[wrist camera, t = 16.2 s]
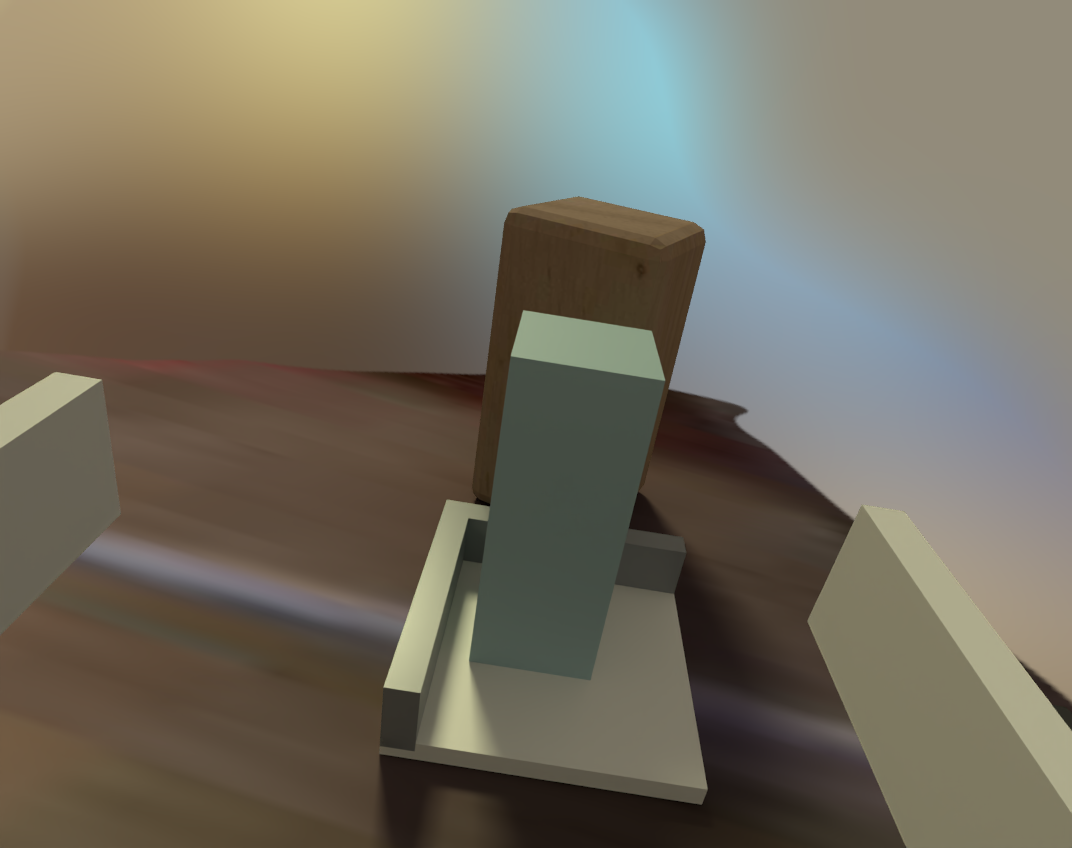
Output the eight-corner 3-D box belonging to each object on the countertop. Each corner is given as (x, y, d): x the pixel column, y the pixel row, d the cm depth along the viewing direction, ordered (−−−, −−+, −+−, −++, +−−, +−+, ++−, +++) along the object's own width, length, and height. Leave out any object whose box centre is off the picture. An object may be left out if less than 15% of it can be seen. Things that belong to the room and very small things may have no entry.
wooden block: (596, 555, 44) (667, 244, 35) (464, 499, 48) (499, 204, 39) (645, 489, 52) (713, 224, 44) (530, 446, 56) (571, 192, 47)
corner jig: (379, 753, 29) (383, 687, 28) (441, 554, 42) (446, 499, 40) (701, 804, 29) (726, 741, 28) (667, 590, 42) (682, 537, 40)
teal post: (468, 661, 33) (510, 356, 26) (484, 581, 39) (523, 310, 32) (590, 680, 33) (665, 380, 26) (589, 598, 39) (651, 330, 32)
